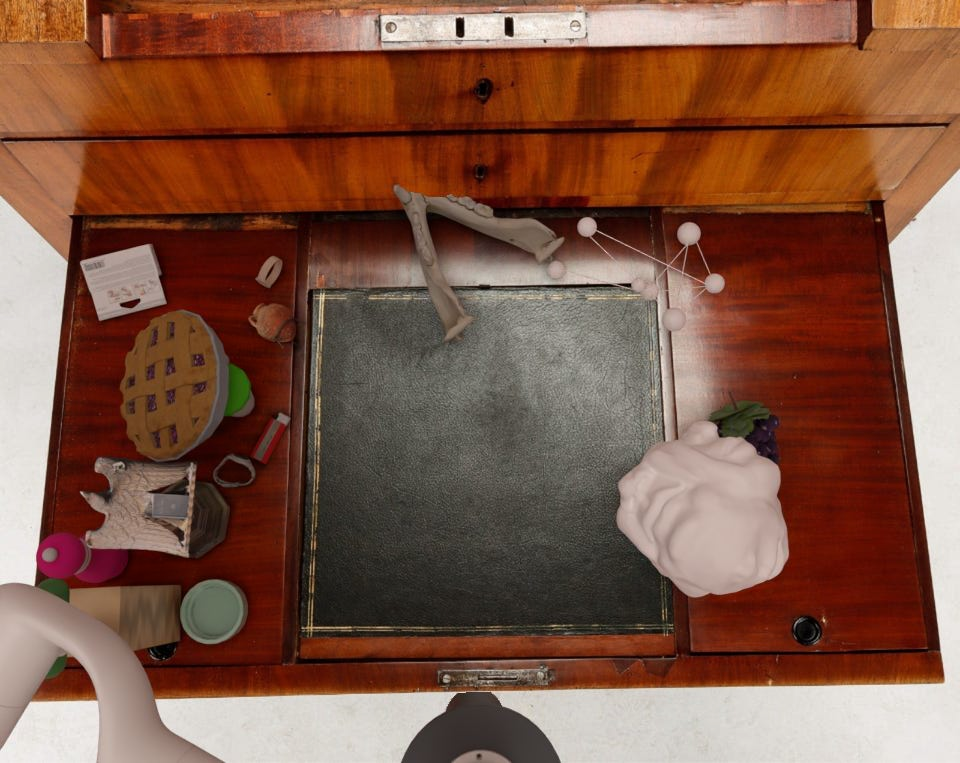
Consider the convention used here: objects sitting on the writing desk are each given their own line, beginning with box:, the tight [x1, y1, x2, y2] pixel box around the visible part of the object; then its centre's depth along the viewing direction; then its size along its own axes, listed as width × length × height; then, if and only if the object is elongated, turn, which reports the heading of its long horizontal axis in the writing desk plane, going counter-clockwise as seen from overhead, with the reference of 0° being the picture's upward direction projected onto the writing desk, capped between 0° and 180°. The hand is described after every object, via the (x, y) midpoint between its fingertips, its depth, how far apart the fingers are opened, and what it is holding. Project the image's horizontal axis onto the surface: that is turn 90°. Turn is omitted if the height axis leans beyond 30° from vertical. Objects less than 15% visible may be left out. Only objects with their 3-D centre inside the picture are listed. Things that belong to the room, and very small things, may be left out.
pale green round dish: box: [180, 578, 249, 645], centre depth 130 cm, size 9×9×4 cm
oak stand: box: [67, 584, 182, 658], centre depth 120 cm, size 8×8×24 cm
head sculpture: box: [615, 420, 790, 598], centre depth 124 cm, size 23×23×25 cm
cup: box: [223, 363, 256, 418], centre depth 131 cm, size 8×8×15 cm
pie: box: [119, 309, 229, 463], centre depth 128 cm, size 22×22×5 cm
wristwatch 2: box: [213, 453, 256, 489], centre depth 135 cm, size 4×6×5 cm
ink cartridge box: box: [79, 243, 167, 322], centre depth 141 cm, size 2×11×10 cm
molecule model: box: [546, 216, 726, 332], centre depth 139 cm, size 14×25×18 cm
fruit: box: [706, 391, 781, 466], centre depth 134 cm, size 10×11×15 cm
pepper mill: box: [35, 532, 129, 584], centre depth 123 cm, size 7×7×20 cm
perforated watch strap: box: [255, 255, 283, 289], centre depth 140 cm, size 3×5×5 cm, turn 150°
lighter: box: [249, 412, 292, 465], centre depth 137 cm, size 3×1×8 cm
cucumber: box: [36, 577, 70, 680], centre depth 97 cm, size 11×4×4 cm, turn 3°
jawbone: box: [393, 184, 565, 343], centre depth 137 cm, size 25×25×15 cm
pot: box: [248, 302, 307, 349], centre depth 138 cm, size 6×8×6 cm
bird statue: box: [79, 441, 231, 559], centre depth 117 cm, size 17×13×35 cm
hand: (55, 627), depth 98 cm, fingers closed on cucumber, 3 cm apart
